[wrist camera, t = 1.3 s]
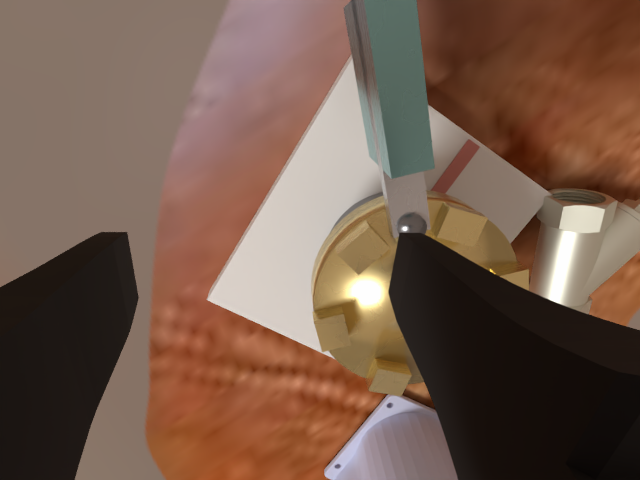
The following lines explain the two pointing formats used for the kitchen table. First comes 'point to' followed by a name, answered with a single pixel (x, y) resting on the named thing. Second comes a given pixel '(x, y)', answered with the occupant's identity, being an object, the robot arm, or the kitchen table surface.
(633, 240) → the pipe fitting
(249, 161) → the kitchen table surface
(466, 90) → the kitchen table surface
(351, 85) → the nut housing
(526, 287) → the gold gear
